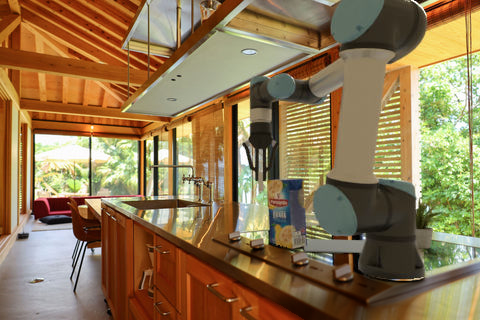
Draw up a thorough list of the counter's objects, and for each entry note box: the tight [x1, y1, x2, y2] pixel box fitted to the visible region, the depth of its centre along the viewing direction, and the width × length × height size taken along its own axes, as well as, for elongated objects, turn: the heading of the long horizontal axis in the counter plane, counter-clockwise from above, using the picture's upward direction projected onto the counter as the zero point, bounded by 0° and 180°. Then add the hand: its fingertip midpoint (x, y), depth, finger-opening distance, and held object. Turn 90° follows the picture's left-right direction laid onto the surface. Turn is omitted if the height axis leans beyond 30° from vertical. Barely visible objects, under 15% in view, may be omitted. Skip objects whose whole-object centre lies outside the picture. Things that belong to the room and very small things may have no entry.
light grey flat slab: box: [302, 238, 365, 255], centre depth 112 cm, size 18×22×1 cm
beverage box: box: [266, 178, 308, 250], centre depth 115 cm, size 7×11×22 cm, turn 35°
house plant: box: [416, 197, 445, 249], centre depth 112 cm, size 14×14×16 cm
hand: (260, 190), depth 116 cm, fingers closed
